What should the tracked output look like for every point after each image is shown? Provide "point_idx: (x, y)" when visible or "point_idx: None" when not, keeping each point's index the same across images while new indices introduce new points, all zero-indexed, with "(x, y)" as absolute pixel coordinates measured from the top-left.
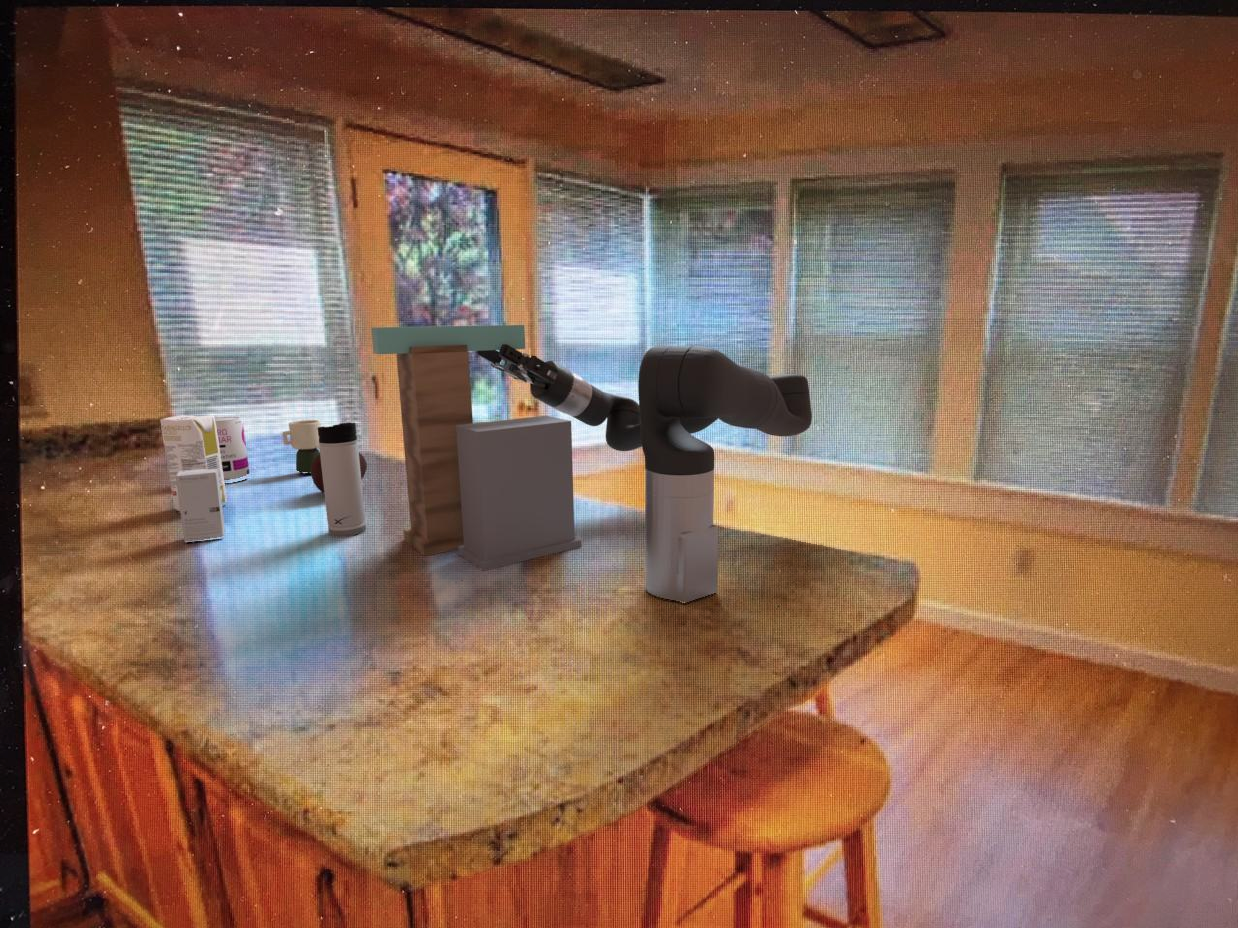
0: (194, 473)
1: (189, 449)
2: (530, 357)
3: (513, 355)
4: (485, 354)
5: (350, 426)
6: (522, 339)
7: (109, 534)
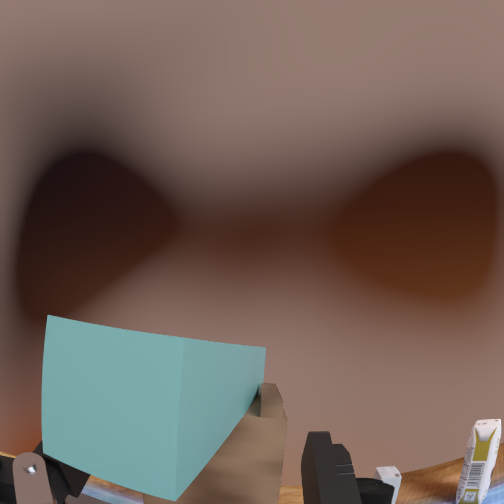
0: (380, 471)
1: (466, 451)
2: (14, 480)
3: None
4: (307, 481)
5: None
6: (52, 400)
7: (409, 487)
